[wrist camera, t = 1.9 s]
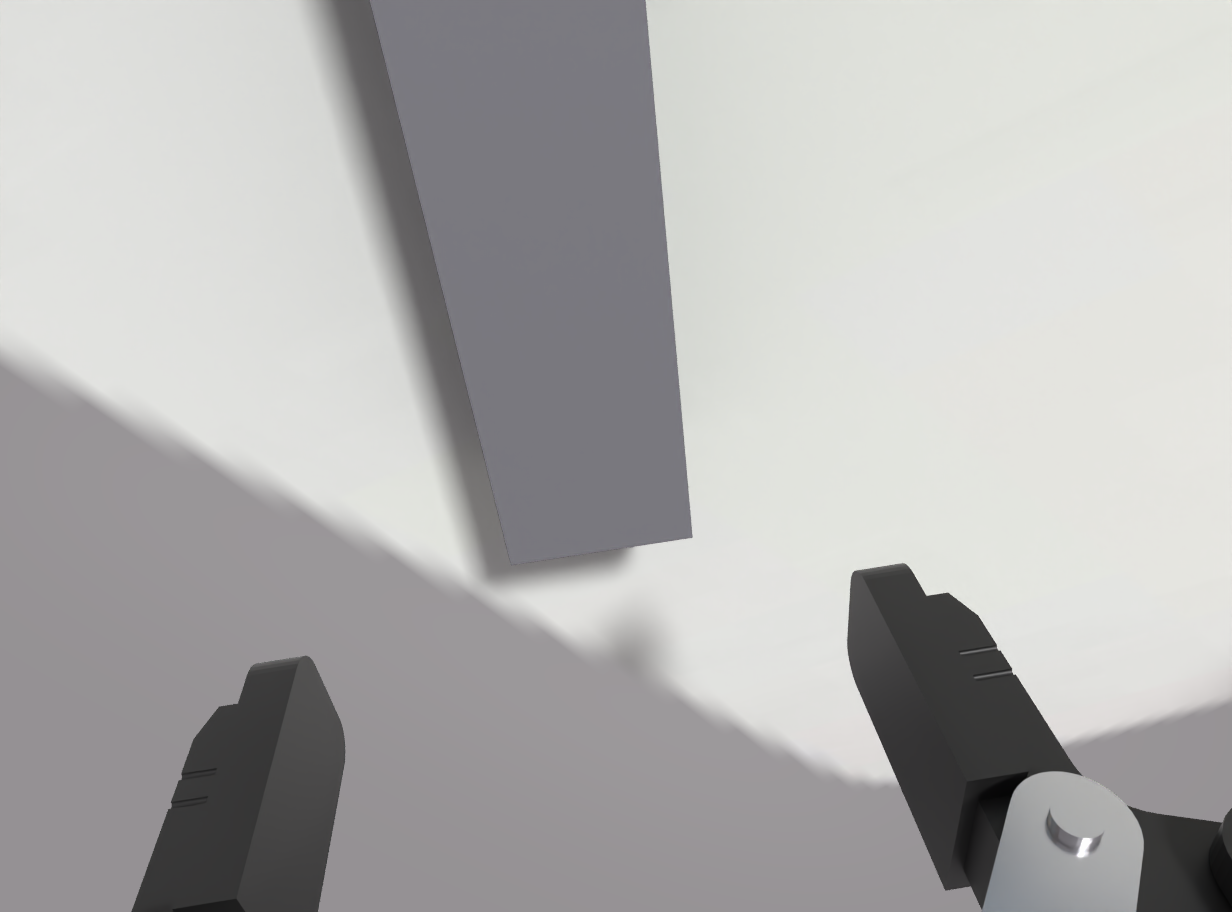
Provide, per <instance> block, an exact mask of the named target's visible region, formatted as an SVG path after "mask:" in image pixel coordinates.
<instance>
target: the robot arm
mask: <svg viewBox="0 0 1232 912" xmlns="http://www.w3.org/2000/svg"><path fill="white" fill-rule="evenodd" d="M847 646H848V656H849V661H850V666H851V670H852V674H853V677H854V680H855V683H856V685H857V688H858V690H859V692H860V695H861V697H862V699H863V702H864V704H865V706H866V708H867V711H868V713H869V715H870V718H871V720H872V722H873V725H874V727H875V729H876V732H877V734H878V736H879V738H880V741H881V743H882V745H883V748H884V750H885V752H886V755H887V757H888V759H889V762H890V764H891V766H892V769H893V771H894V773H895V775H896V778H897V780H898V782H899V785H900V787H901V789H902V792H903V794H904V796H905V799H906V801H907V803H908V806H909V808H910V810H911V812H912V815H913V817H914V819H915V822H916V824H917V826H918V828H919V831H920V833H921V836H922V838H923V840H924V842H925V845H926V847H927V849H928V852H929V854H930V856H931V859H932V861H933V863H934V865H935V868H936V870H937V872H938V875H939V877H940V879H941V882H942V884H943V886H944V889H945V890H951V889H957V888H963V887H969V886H971V887H972V889H973V892H974V894H975V896H976V898H977V900H978V903H979V905H980V907H981V909H982V912H1232V809H1231V810H1230V811H1229V812H1228V814H1227V815H1226V816H1225V818H1224V820H1223V822H1222V823H1220V822H1213V821H1206V820H1199V819H1191V818H1184V817H1177V816H1169V815H1162V814H1156V813H1151V812H1146V811H1142V810H1139V809H1136V808H1132V807H1130V806H1127V805H1126V804H1125V803H1124V802H1123V801H1122V800H1121V799H1120V798H1119V797H1118V796H1117V795H1116V794H1114V793H1113V792H1111V791H1110V790H1109V789H1107V788H1106V787H1104V786H1103V785H1101V784H1099V783H1097V782H1095V781H1093V780H1091V779H1089V778H1086V777H1084V776H1082V775H1081V774H1080V773H1079V771H1078V770H1077V769H1076V768H1075V766H1074V765H1073V764H1072V762H1071V761H1070V759H1069V758H1068V756H1067V754H1066V753H1065V751H1064V750H1063V748H1062V746H1061V745H1060V743H1059V742H1058V740H1057V739H1056V737H1055V735H1054V734H1053V732H1052V731H1051V729H1050V728H1049V726H1048V724H1047V723H1046V721H1045V720H1044V718H1043V717H1042V715H1041V714H1040V712H1039V710H1038V709H1037V707H1036V706H1035V704H1034V703H1033V701H1032V699H1031V698H1030V696H1029V695H1028V693H1027V692H1026V690H1025V688H1024V687H1023V685H1022V684H1021V682H1020V681H1019V679H1018V677H1017V676H1016V675H1013V673H1012V668H1011V666H1010V665H1009V663H1008V662H1007V660H1006V659H1005V657H1004V655H1003V654H1002V652H1001V651H998V649H997V644H996V643H995V641H994V640H993V638H992V637H991V635H990V633H989V632H988V630H987V629H986V627H985V626H984V624H983V622H982V621H981V619H980V618H979V616H978V615H977V614H975V613H974V612H973V611H971V610H970V609H969V608H967V607H966V606H965V605H963V604H962V603H961V602H960V601H958V600H957V599H956V598H954V597H953V596H952V595H950V594H949V593H943V594H937V595H930V596H926V594H925V593H924V591H923V589H922V587H921V586H920V584H919V582H918V581H917V579H916V577H915V575H914V574H913V572H912V571H911V569H910V568H909V567H908V566H907V565H906V564H904V563H902V564H895V565H889V566H883V567H876V568H870V569H864V570H857V571H854V572H853V574H852V577H851V587H850V604H849V621H848V638H847ZM344 763H345V740H344V733H343V728H342V724H341V721H340V719H339V717H338V714H337V712H336V710H335V708H334V706H333V703H332V701H331V699H330V697H329V695H328V692H327V690H326V688H325V686H324V684H323V682H322V679H321V677H320V675H319V673H318V671H317V668H316V666H315V664H314V662H313V661H312V659H311V658H310V657H308V656H302V657H296V658H289V659H283V660H276V661H270V662H264V663H257V664H254V665H253V666H252V667H251V668H250V670H249V672H248V674H247V677H246V681H245V684H244V687H243V690H242V693H241V696H240V699H239V702H238V704H233V705H227V706H221V707H219V708H218V709H217V710H216V712H215V713H214V714H213V715H212V717H211V718H210V719H209V720H208V722H207V723H206V724H205V725H204V727H203V728H202V729H201V731H200V732H199V733H198V734H197V736H196V737H195V738H194V740H193V743H192V745H191V748H190V751H189V754H188V756H187V760H186V762H185V765H184V768H183V770H182V780H179V781H178V784H177V787H176V790H175V793H174V796H173V798H172V801H171V803H172V808H171V809H168V812H167V815H166V818H165V820H164V823H163V826H162V829H161V831H160V834H159V837H158V840H157V843H156V845H155V848H154V851H153V854H152V856H151V859H150V862H149V865H148V867H147V870H146V873H145V876H144V879H143V882H142V884H141V887H140V890H139V893H138V895H137V898H136V901H135V904H134V907H133V909H132V912H318V908H319V902H320V897H321V891H322V886H323V880H324V874H325V868H326V863H327V858H328V852H329V846H330V841H331V836H332V830H333V825H334V819H335V814H336V808H337V802H338V797H339V791H340V786H341V780H342V775H343V769H344Z"/></svg>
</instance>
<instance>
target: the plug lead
mask: <svg viewBox="0 0 1232 912" xmlns="http://www.w3.org/2000/svg"><path fill="white" fill-rule="evenodd" d="M370 4H371V8H372V12H373V16H374V20H375V24H376V28H377V32H378V36H379V40H380V44H381V48H382V52H383V56H384V60H385V64H386V68H387V72H388V76H389V80H390V84H391V88H392V92H393V96H394V100H395V104H396V108H397V112H398V116H399V120H400V124H401V128H402V132H403V136H404V140H405V144H406V148H407V152H408V156H409V160H410V164H411V167H412V171H413V175H414V179H415V183H416V187H417V191H418V195H419V199H420V203H421V207H422V211H423V215H424V219H425V223H426V227H427V231H428V235H429V239H430V243H431V247H432V251H433V255H434V259H435V263H436V267H437V271H438V275H439V279H440V283H441V287H442V291H443V295H444V299H445V303H446V307H447V311H448V315H449V319H450V323H451V327H452V331H453V335H454V339H455V343H456V347H457V351H458V355H459V359H460V363H461V367H462V371H463V375H464V379H465V383H466V387H467V391H468V395H469V399H470V403H471V407H472V411H473V415H474V419H475V423H476V427H477V431H478V435H479V439H480V443H481V447H482V451H483V455H484V459H485V463H486V467H487V471H488V475H489V479H490V483H491V487H492V491H493V495H494V499H495V503H496V507H497V511H498V515H499V519H500V523H501V527H502V531H503V535H504V539H505V543H506V547H507V551H508V555H509V559H510V563H511V565H516V564H523V563H529V562H536V561H543V560H549V559H556V558H562V557H569V556H575V555H582V554H588V553H595V552H602V551H608V550H615V549H621V548H628V547H634V546H641V545H647V544H654V543H661V542H667V541H674V540H680V539H687V538H692V527H691V515H690V504H689V492H688V481H687V470H686V458H685V447H684V435H683V424H682V413H681V401H680V390H679V378H678V367H677V355H676V344H675V333H674V321H673V310H672V298H671V287H670V276H669V264H668V253H667V241H666V230H665V219H664V207H663V196H662V184H661V173H660V162H659V150H658V139H657V127H656V116H655V104H654V93H653V82H652V70H651V59H650V47H649V36H648V25H647V13H646V2H645V0H370Z"/></svg>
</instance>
